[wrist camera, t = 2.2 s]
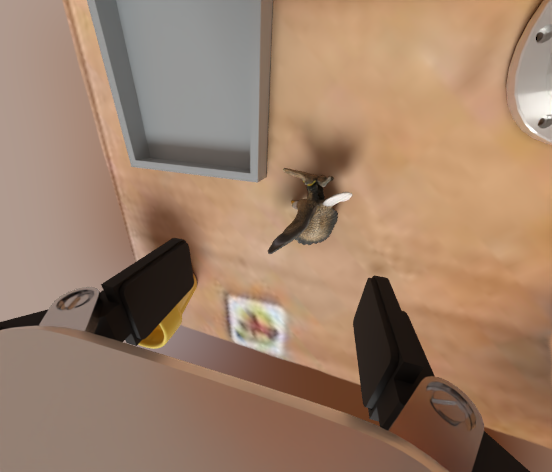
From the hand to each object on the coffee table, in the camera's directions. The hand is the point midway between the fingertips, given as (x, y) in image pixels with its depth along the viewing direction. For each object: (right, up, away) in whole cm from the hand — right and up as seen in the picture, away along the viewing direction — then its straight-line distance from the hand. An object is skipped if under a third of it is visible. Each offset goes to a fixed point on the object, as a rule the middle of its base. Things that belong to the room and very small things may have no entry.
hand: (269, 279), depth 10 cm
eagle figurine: (+4, +6, +13) cm, 15 cm away
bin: (-8, +18, +10) cm, 22 cm away
